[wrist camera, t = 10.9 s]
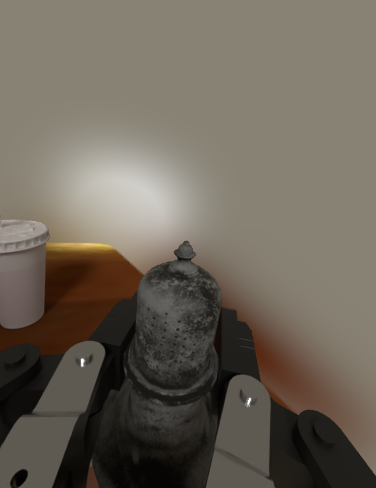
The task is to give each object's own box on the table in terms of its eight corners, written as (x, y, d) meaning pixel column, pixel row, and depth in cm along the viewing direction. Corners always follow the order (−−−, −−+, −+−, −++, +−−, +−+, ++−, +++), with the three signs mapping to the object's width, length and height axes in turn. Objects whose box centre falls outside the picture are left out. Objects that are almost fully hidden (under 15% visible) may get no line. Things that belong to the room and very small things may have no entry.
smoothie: (-7, 303, 24) (-40, 171, 19) (59, 293, 27) (47, 177, 22) (-30, 347, 19) (-83, 182, 14) (56, 330, 22) (39, 188, 17)
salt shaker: (177, 388, 15) (204, 214, 10) (242, 495, 10) (332, 267, 6) (82, 440, 11) (65, 218, 7) (114, 632, 7) (119, 341, 3)
